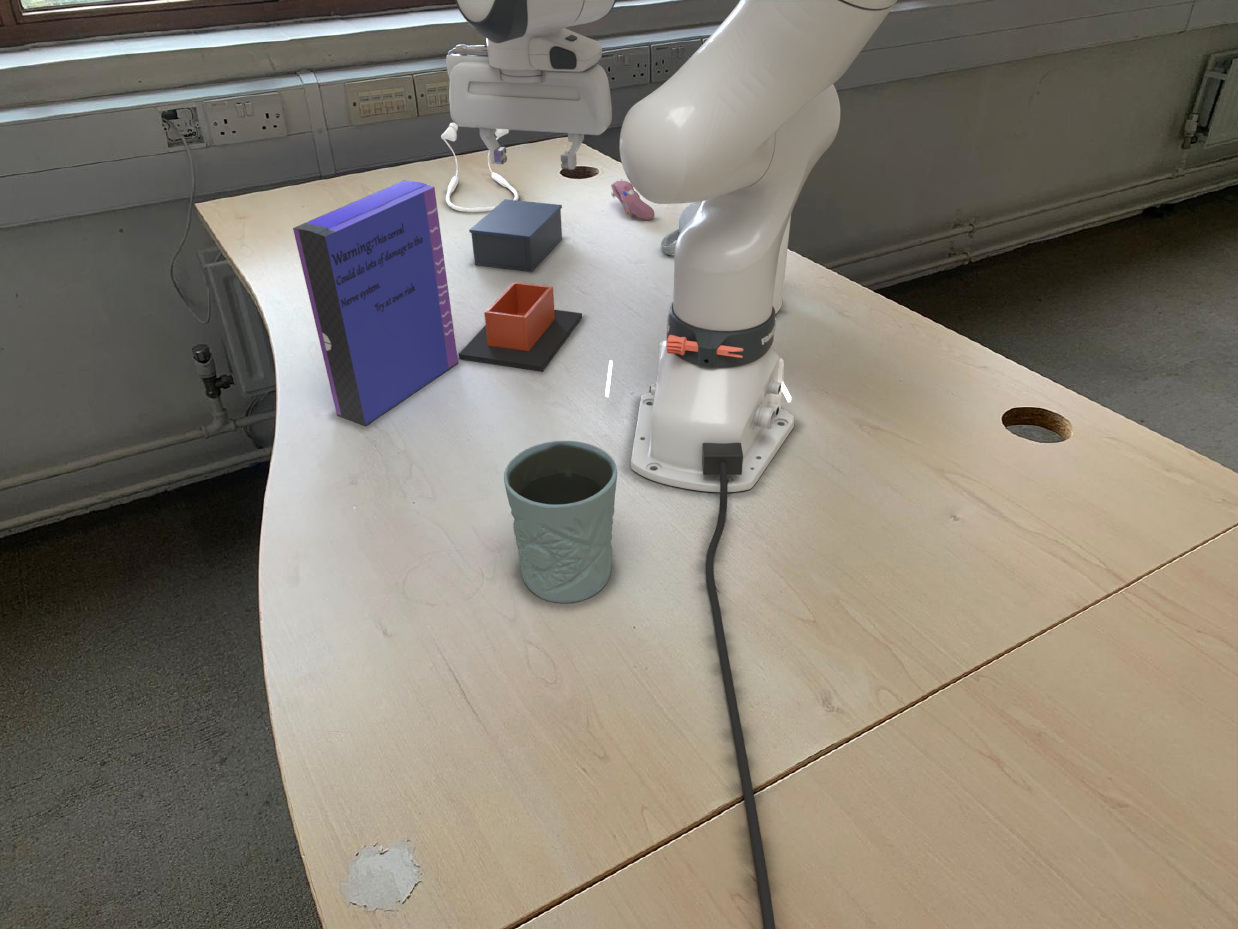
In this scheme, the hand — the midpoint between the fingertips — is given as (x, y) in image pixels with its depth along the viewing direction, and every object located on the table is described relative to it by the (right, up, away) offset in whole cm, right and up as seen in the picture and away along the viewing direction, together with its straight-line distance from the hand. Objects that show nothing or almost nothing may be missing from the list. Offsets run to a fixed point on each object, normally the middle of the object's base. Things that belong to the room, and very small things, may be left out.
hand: (533, 165), depth 114 cm
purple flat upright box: (-17, -28, +1) cm, 33 cm away
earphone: (-16, +14, +59) cm, 63 cm away
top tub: (-3, -19, +11) cm, 23 cm away
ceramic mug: (+23, -3, +36) cm, 43 cm away
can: (+28, -15, +19) cm, 37 cm away
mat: (-3, -20, +12) cm, 24 cm away
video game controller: (+13, +8, +50) cm, 52 cm away
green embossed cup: (+6, -48, -27) cm, 55 cm away
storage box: (-6, -2, +36) cm, 37 cm away
